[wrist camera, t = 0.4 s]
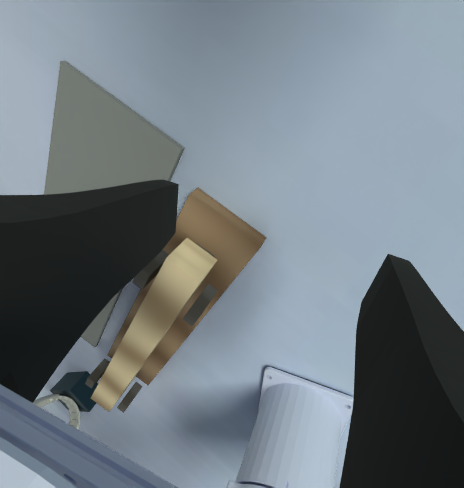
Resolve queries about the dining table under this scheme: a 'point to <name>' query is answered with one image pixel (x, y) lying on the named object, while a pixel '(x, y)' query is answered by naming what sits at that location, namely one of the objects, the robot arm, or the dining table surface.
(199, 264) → the rail
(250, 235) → the rack
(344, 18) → the dining table surface
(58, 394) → the watch
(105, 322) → the mat
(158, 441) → the dining table surface
